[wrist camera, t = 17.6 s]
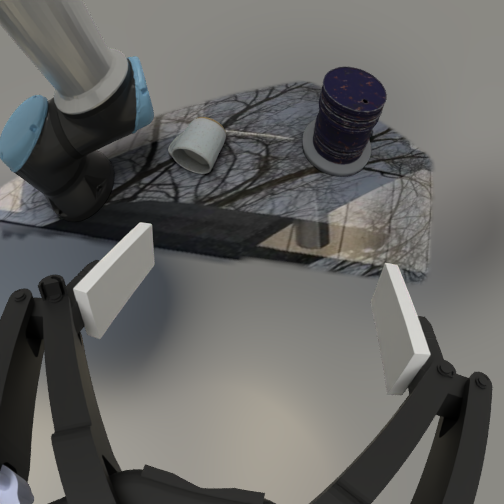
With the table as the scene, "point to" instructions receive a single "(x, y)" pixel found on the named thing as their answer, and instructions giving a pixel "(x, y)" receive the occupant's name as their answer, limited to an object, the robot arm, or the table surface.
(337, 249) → the table surface
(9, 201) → the table surface
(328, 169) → the grey flat round disc
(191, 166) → the ceramic mug
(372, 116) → the navy cylinder
